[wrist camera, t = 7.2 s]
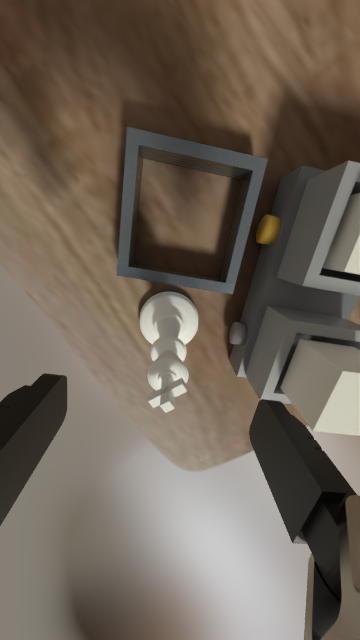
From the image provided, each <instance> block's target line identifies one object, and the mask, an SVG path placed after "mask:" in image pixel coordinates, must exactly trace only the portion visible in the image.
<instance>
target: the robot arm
mask: <svg viewBox="0 0 360 640" xmlns="http://www.w3.org/2000/svg"><path fill="white" fill-rule="evenodd" d="M66 411H67V377H66V376H63V375H55V374H43V375H42V376H40V377H39V378H38V379H37V380H36V381H35V382H34V383H33V384H32V385H31V386H26V385H25V386H23V387H21V388H19V389H17V390H15V391H14V392H12V393H10V394H8V395H7V396H6V397H5V398H4V399H3V400H2V401H1V402H0V525H1V524H2V522H3V521H4V519H5V517H6V516H7V514H8V512H9V511H10V509H11V507H12V505H13V504H14V502H15V501H16V499H17V498H18V496H19V494H20V492H21V491H22V489H23V488H24V486H25V484H26V483H27V481H28V479H29V478H30V476H31V474H32V473H33V471H34V470H35V468H36V466H37V465H38V463H39V461H40V460H41V458H42V456H43V455H44V453H45V451H46V450H47V448H48V446H49V445H50V443H51V441H52V440H53V438H54V436H55V435H56V433H57V432H58V430H59V428H60V427H61V425H62V423H63V421H64V419H65V416H66ZM249 435H250V441H251V444H252V446H253V449H254V451H255V454H256V456H257V458H258V461H259V463H260V466H261V468H262V471H263V473H264V475H265V478H266V480H267V482H268V485H269V487H270V490H271V492H272V495H273V497H274V500H275V502H276V504H277V507H278V509H279V512H280V514H281V516H282V519H283V521H284V524H285V526H286V529H287V531H288V533H289V536H290V538H291V541H292V543H298V544H308V546H309V548H310V550H311V552H312V554H311V555H310V557H309V562H308V579H307V580H308V581H307V596H306V613H305V631H304V640H360V496H358V495H357V494H356V493H355V492H354V490H353V489H352V488H351V486H350V485H349V484H348V482H347V481H346V480H345V478H344V477H343V476H342V474H341V473H340V472H339V470H338V469H337V468H336V466H335V465H334V464H333V462H332V461H331V460H330V458H329V457H328V456H327V454H326V453H325V452H324V451H322V449H321V447H320V445H319V444H318V443H317V441H316V440H314V437H313V436H312V435H311V433H310V432H309V431H308V429H307V428H306V427H305V425H303V424H302V423H301V422H300V421H299V420H298V419H297V418H295V417H294V416H293V415H291V414H290V413H289V412H288V410H287V409H286V408H285V406H284V405H283V403H282V402H280V401H274V400H266V399H261V400H260V401H259V403H258V406H257V409H256V411H255V414H254V417H253V420H252V423H251V425H250V431H249Z"/></svg>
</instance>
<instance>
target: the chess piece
mask: <svg viewBox="0 0 360 640" xmlns="http://www.w3.org/2000/svg"><path fill="white" fill-rule="evenodd" d="M140 328H141V331H142V333H143V335H144V337H145V338H146V339H147V340H148V341H149V342H150V343H151V344H152V346H151V350H150V353H151V357H152V360H153V361H154V362H153V363H152V364H151V366H150V367H149V370H148V373H147V378H148V382H149V384H150V385H151V386H152V388H154V389H155V390H156V391H155V392H153V393H151V394H149V399H148V402H149V403H150V404H151V406H152V407H153V408H155V407H157V406H159V405H160V407H161V408H162V409H163V410H164V412H165V413H167V412H169V411H171V410H173V409H175V397H177V396H179V395H181V394H183V393H185V392H187V384H186V383H187V381H188V376H189V374H188V369H187V367H186V365H185V364H184V363H183V361H184V359H185V357H186V347H185V344H187V343H188V342H189V341H190V340H191V339H192V338H193V337H194V335H195V333H196V331H197V328H198V312H197V309H196V307H195V305H194V304H193V303H192V301H191V300H190V299H188V298H187V297H186V296H184V295H182V294H180V293H176V292H161V293H158V294H156V295H154V296H152V297H151V298H149V299H148V300H147V301H146V303H145V304H144V305H143V307H142V309H141V312H140Z"/></svg>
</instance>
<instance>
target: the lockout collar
mask: <svg viewBox="0 0 360 640" xmlns="http://www.w3.org/2000/svg"><path fill="white" fill-rule="evenodd" d="M143 158H145V159H149V160H154V161H158V162H163V163H167V164H172V165H177V166H181V167H186V168H190V169H195V170H200V171H204V172H209V173H213V174H218V175H222V176H227V177H232V178H236V179H241V180H242V184H241V188H240V193H239V197H238V201H237V206H236V210H235V214H234V219H233V223H232V227H231V231H230V236H229V240H228V244H227V249H226V253H225V257H224V261H223V266H222V270H221V274H220V279H219V278H213V277H207V276H202V275H196V274H190V273H184V272H178V271H172V270H166V269H160V268H154V267H148V266H143V265H137V264H133V260H134V250H135V239H136V228H137V217H138V207H139V196H140V185H141V175H142V164H143ZM267 161H268V159H265V158H261V157H257V156H252V155H248V154H244V153H239V152H235V151H231V150H226V149H222V148H218V147H214V146H209V145H205V144H201V143H196V142H192V141H188V140H183V139H179V138H175V137H170V136H166V135H162V134H157V133H153V132H149V131H144V130H140V129H136V128H131V127H127V137H126V151H125V166H124V180H123V194H122V209H121V223H120V238H119V252H118V266H117V275H118V276H124V277H130V278H136V279H142V280H148V281H155V282H161V283H167V284H173V285H179V286H185V287H191V288H198V289H204V290H210V291H216V292H222V293H228V294H233V291H234V288H235V284H236V280H237V276H238V272H239V268H240V265H241V261H242V257H243V253H244V249H245V245H246V242H247V238H248V234H249V230H250V226H251V222H252V219H253V215H254V211H255V207H256V203H257V199H258V195H259V192H260V188H261V184H262V180H263V176H264V172H265V169H266V165H267Z"/></svg>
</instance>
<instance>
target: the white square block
mask: <svg viewBox="0 0 360 640" xmlns="http://www.w3.org/2000/svg"><path fill="white" fill-rule="evenodd" d="M322 268H324V269H329V270H335V271H340V272H346V273H351V274H357V275H360V193H357V194H353V195H350V197H349V200H348V202H347V205H346V208H345V210H344V213H343V215H342V218H341V220H340V223H339V226H338V228H337V231H336V233H335V236H334V238H333V241H332V244H331V246H330V249H329V251H328V254H327V256H326V259H325V262H324V264H323V267H322Z"/></svg>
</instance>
